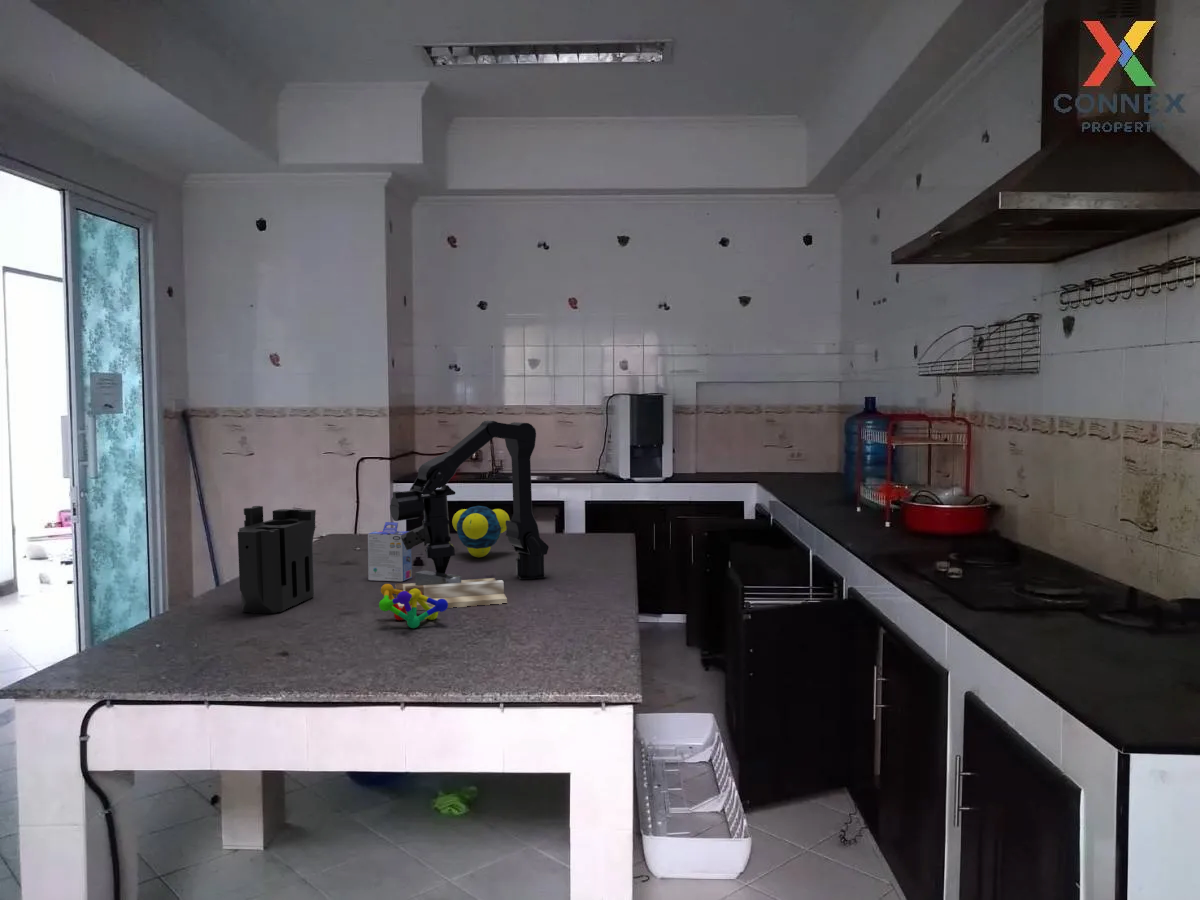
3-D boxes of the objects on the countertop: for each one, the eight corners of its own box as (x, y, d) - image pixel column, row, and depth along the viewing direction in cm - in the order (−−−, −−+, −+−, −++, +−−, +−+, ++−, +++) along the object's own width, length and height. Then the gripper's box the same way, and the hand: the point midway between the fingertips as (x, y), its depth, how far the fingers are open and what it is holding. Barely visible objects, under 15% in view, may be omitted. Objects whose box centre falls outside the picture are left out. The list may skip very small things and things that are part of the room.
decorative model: (434, 592, 183) (454, 588, 170) (428, 633, 181) (447, 632, 168) (375, 583, 178) (390, 577, 165) (367, 624, 176) (382, 623, 162)
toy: (505, 563, 233) (504, 510, 232) (444, 564, 234) (443, 510, 233) (511, 552, 249) (511, 502, 248) (455, 553, 250) (454, 503, 249)
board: (494, 582, 210) (494, 567, 209) (507, 603, 188) (506, 587, 188) (395, 589, 204) (395, 573, 203) (397, 611, 182) (396, 594, 182)
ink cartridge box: (413, 577, 217) (411, 522, 216) (404, 582, 211) (402, 525, 210) (377, 576, 219) (376, 521, 218) (367, 581, 213) (366, 524, 212)
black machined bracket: (320, 595, 198) (317, 502, 197) (270, 618, 178) (266, 515, 176) (274, 593, 200) (271, 502, 199) (220, 616, 180) (216, 514, 179)
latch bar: (464, 588, 196) (464, 576, 195) (453, 591, 193) (453, 578, 192) (425, 582, 203) (425, 570, 203) (414, 585, 200) (414, 572, 200)
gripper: (400, 512, 207) (404, 574, 209) (402, 524, 189) (407, 592, 191) (445, 508, 210) (450, 569, 212) (452, 520, 192) (457, 587, 194)
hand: (440, 579), depth 202 cm, fingers closed
